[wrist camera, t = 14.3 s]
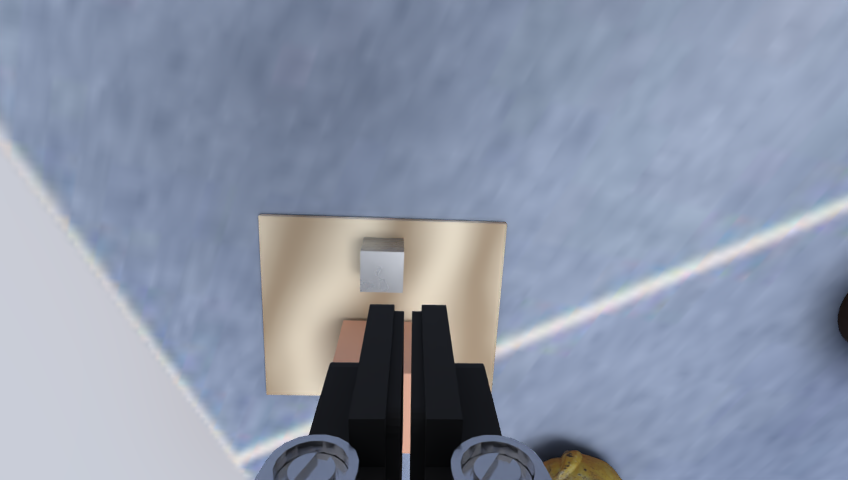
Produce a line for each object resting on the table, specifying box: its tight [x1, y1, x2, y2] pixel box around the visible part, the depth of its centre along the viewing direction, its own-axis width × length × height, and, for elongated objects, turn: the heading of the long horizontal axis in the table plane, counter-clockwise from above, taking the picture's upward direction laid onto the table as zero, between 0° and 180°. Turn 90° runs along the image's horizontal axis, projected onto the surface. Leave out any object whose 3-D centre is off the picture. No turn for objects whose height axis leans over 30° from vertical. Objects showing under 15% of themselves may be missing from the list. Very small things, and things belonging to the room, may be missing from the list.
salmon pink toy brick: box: [333, 320, 412, 453], centre depth 32 cm, size 5×5×7 cm
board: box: [258, 214, 507, 395], centre depth 35 cm, size 16×13×1 cm
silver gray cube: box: [360, 237, 404, 293], centre depth 32 cm, size 3×3×3 cm
